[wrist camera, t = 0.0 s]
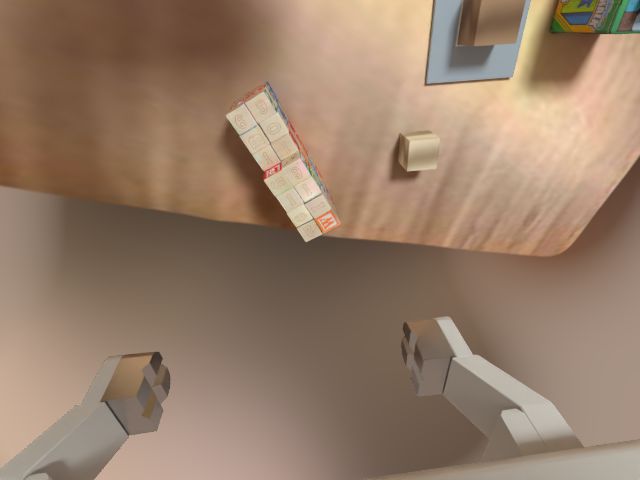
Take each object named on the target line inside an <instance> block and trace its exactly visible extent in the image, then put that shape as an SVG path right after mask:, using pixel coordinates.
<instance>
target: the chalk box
mask: <svg viewBox="0 0 640 480" xmlns="http://www.w3.org/2000/svg"><path fill="white" fill-rule="evenodd" d="M550 33H589V34H629V33H640V0H559V2H558V5H557V8H556V12H555V15H554V18H553V22H552V25H551V28H550Z"/></svg>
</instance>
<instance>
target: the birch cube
mask: <svg viewBox="0 0 640 480" xmlns="http://www.w3.org/2000/svg"><path fill="white" fill-rule="evenodd" d="M440 140H441V138H439V137H438V136H436V135H435V134H433V133H432V132H430V131H418V132H406V133H400V142H399V156H398V162H399V163H400V164H401V165H402V166H403V168H404V169H405V170H406V171H417V170H428V169H436V168H437V161H438V154H439V147H440Z"/></svg>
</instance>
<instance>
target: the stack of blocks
mask: <svg viewBox="0 0 640 480" xmlns="http://www.w3.org/2000/svg"><path fill="white" fill-rule="evenodd" d="M226 117H227V119H228V120H229V122H230V123H231V124H232V126H233V127H234V129H235V130H236V132H237V133H238V134H239V136H240V138H241V140H242V141H243V142H244V144H245V145H246V147H247V148H248V150H249V151H250V153H251V154H252V156H253V157H254V159H255V160H256V162H257V163H258V164H259V166H260V167H261V169H262V170H263V171H264V178H263V180H264V182H265V183H266V185H267V186H268V187H269V189H270V190H271V192H272V193H273V195H274V196H275V197H276V198H277V199H278V201H279V202H280V204H281V205H282V207H283V208H284V209H285V211H286V213H287V215H288V216H289V218H290V219H291V221H292V222H293V224H294V225H295V227H296V228H297V230H298V231H299V233H300V234H301V236H302V237H303V239H304V240H305V242H308V241H310V240H312V239H313V238H315V237H317V236H320V235H322V233H325V232H327V231H329V230H331V229H333V228H335V227H337V226H339V225H340V224H341V223H340V221H339V218H338V215H337V212H336V209H335V206H334V204H333V201H332V197H331V194H330V192H329V190H328V188H327V186H326V185H325V183H324V181H323V178H322V176H321V175H320V173H319V171H318V169H317V167H316V166H315V164H314V162H313V160H312V158H311V157H310V155H309V153H308V151H307V150H306V149H305V147H304V146H303V144H302V142H301V140H300V139H299V137H298V135H297V134H296V132H295V130H294V129H293V127H292V125H291V123H290V122H289V120H288V116H287V115H286V113H285V111H284V109H283V108H282V106H281V104H280V102H279V101H278V99H277V98H276V96H275V94H274V92H273V91H272V89H271V87H270V85H269V84H268V82H265V83H264V84H262V85H261V86H259V87H257V88H256V89H254V90H253V91H251V92H249V93H247V94H246V95H244V96H243V97H241V98H239V99H238V100H237V101H235V102H234V104H233V105H232V107H231V108H230V110H229V111H228V113H227V114H226Z"/></svg>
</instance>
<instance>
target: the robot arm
mask: <svg viewBox="0 0 640 480" xmlns="http://www.w3.org/2000/svg"><path fill="white" fill-rule="evenodd" d="M403 332H404V334H405V336H404V337H403V338H402V341H401V348H402V356H403V359H404V362H405V365H406V367H407V368H409V369H410V370H411V381H412V384H413V386H414V389H415V391H416V394H417V396H427V395H437V394H443V396H444V397H445V398H447V400H449V401H450V402H451V403H452V404H453V405H454V406H455V407H456V408H457V409H458V410H459V411H461V413H462V414H463V415H465V416H466V417H467V418H468V419H469V420H470V421H471V422H472V423H473V424H474V425H476V427H477V428H479V429H480V430H481V431H482V432H483V433H484V434H485V435H486V436H487V437H488V438H489V439H490V441H489V443H488V446H487V448H486V450H485V453H484V455H483V457H482V458H483V460H484V462H480V463H473V464H466V465H459V466H452V467H445V468H439V469H431V470H425V471H418V472H411V473H404V474H398V475H390V476H383V477H376V478H370V479H362V480H640V439H637V440H631V441H623V442H617V443H610V444H603V445H596V446H589V447H584V446H583V445H582V443H581V442H580V441H579V439H578V438H577V437H576V435H575V434H574V433H573V431H572V430H571V428H570V427H569V426H568V424H567V423H566V422H565V420H564V419H563V417H562V416H561V415H560V413H559V412H558V411H557V409H556V408H555V406H554V405H553V404H552V403H551V402H550V401H548V400H547V399H545V398H543V397H542V396H541V395H539V394H537V393H536V392H534V391H533V390H531V389H530V388H528V387H527V386H525V385H524V384H522V383H520V382H519V381H517V380H516V379H514V378H513V377H511V376H510V375H508V374H507V373H505V372H503V371H502V370H500V369H499V368H497V367H496V366H494V365H493V364H491V363H489V362H488V361H486V360H485V359H483V358H482V357H480V356H479V355H473V354H472V353H471V351H470V349H469V348H468V346H467V344H466V343H465V342H464V339H463V338H462V336H461V334H460V333H459V331H458V330H457V328H456V326H455V324H454V323H453V321H452V320H451V318H449V317H440V318H434V319H432V318H430V319H423V320H416V321H408V322H404V324H403ZM162 359H163V358H162V356H161V355H160V353H159V352H149V353H139V354H128V355H119V356H110V357H108V358H107V359H106V360H105V361H104V362H103V364H102V366H101V368H100V370H99V372H98V373H97V375H96V377H95V379H94V381H93V383H92V385H91V386H90V388H89V390H88V392H87V394H86V396H85V397H84V399H83V401H82V403H81V405H75V406H74V407H73V408H72V409H71V410H70V411H68V412H67V413H66V414H65V415H64V416H62V417H61V418H60V419H59V420H58V421H57V422H55V423H54V424H53V425H52V426H51V427H49V428H48V429H47V430H46V431H45V432H44V433H42V434H41V435H40V436H39V437H38V438H36V439H35V440H34V441H33V442H32V443H30V444H29V445H28V446H27V447H26V448H25V449H24V450H22V451H21V452H20V453H19V454H18V455H16V456H15V457H14V458H13V459H12V460H10V461H9V462H8V463H7V464H6V465H4V466H3V467H2V468H1V469H0V480H94V479H95V478H96V477H97V475H98V474H99V473H100V472H101V470H102V469H103V468H104V467H105V465H106V464H107V463H108V462H109V461H110V459H111V458H112V457H113V456H114V454H115V453H116V452H117V451H118V450H119V449H120V447H121V446H122V445H123V444H124V442H125V441H126V440H127V439H128V438H129V435H135V434H141V433H147V432H153V431H157V429H158V425H159V422H160V419H161V416H162V413H163V409H162V407H161V403H162V402H163V401H164V400H165V399H166V398H167V396H168V393H169V389H170V374H169V371H168V369H167V367H165V366H164V365H161V362H162Z"/></svg>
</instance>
